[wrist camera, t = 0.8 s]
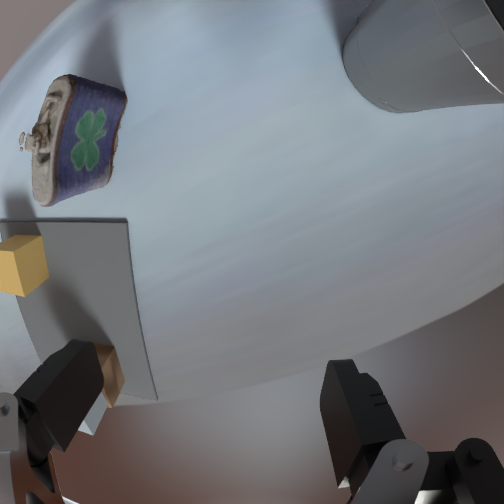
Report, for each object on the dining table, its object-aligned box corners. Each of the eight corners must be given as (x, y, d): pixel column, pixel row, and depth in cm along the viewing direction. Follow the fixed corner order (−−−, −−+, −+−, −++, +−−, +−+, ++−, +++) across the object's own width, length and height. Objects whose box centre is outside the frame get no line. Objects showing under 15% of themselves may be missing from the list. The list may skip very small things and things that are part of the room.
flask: (110, 189, 24) (35, 218, 14) (86, 183, 23) (8, 209, 13) (132, 90, 20) (60, 66, 10) (105, 88, 20) (29, 68, 10)
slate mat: (0, 221, 25) (-2, 222, 24) (127, 222, 25) (126, 223, 24) (46, 369, 33) (45, 370, 33) (157, 398, 33) (157, 400, 33)
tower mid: (61, 366, 25) (41, 395, 20) (95, 376, 25) (77, 408, 20) (74, 394, 27) (59, 422, 22) (107, 404, 27) (93, 435, 22)
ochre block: (15, 234, 25) (-12, 249, 20) (41, 235, 25) (13, 251, 20) (23, 273, 27) (-1, 290, 22) (49, 276, 27) (24, 297, 22)
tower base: (75, 338, 30) (57, 362, 25) (114, 346, 30) (98, 374, 25) (88, 372, 32) (73, 396, 27) (125, 381, 32) (112, 408, 27)
